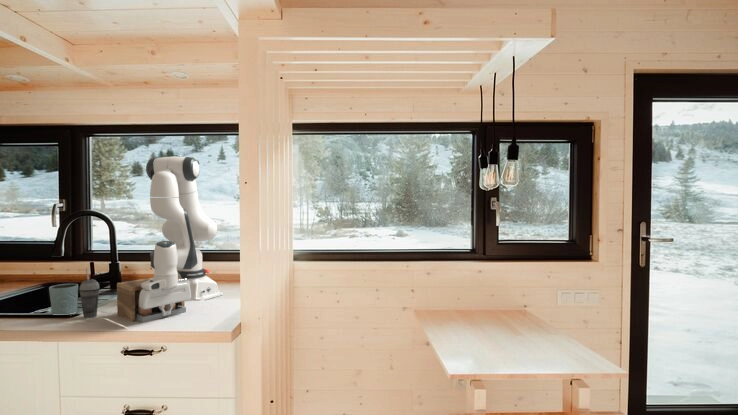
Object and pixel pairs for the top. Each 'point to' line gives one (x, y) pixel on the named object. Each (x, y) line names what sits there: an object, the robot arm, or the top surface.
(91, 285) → the beverage cup
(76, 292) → the teal cup
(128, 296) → the open wooden box
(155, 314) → the tray
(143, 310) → the peach rounded capsule
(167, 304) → the peach glossy rounded part
